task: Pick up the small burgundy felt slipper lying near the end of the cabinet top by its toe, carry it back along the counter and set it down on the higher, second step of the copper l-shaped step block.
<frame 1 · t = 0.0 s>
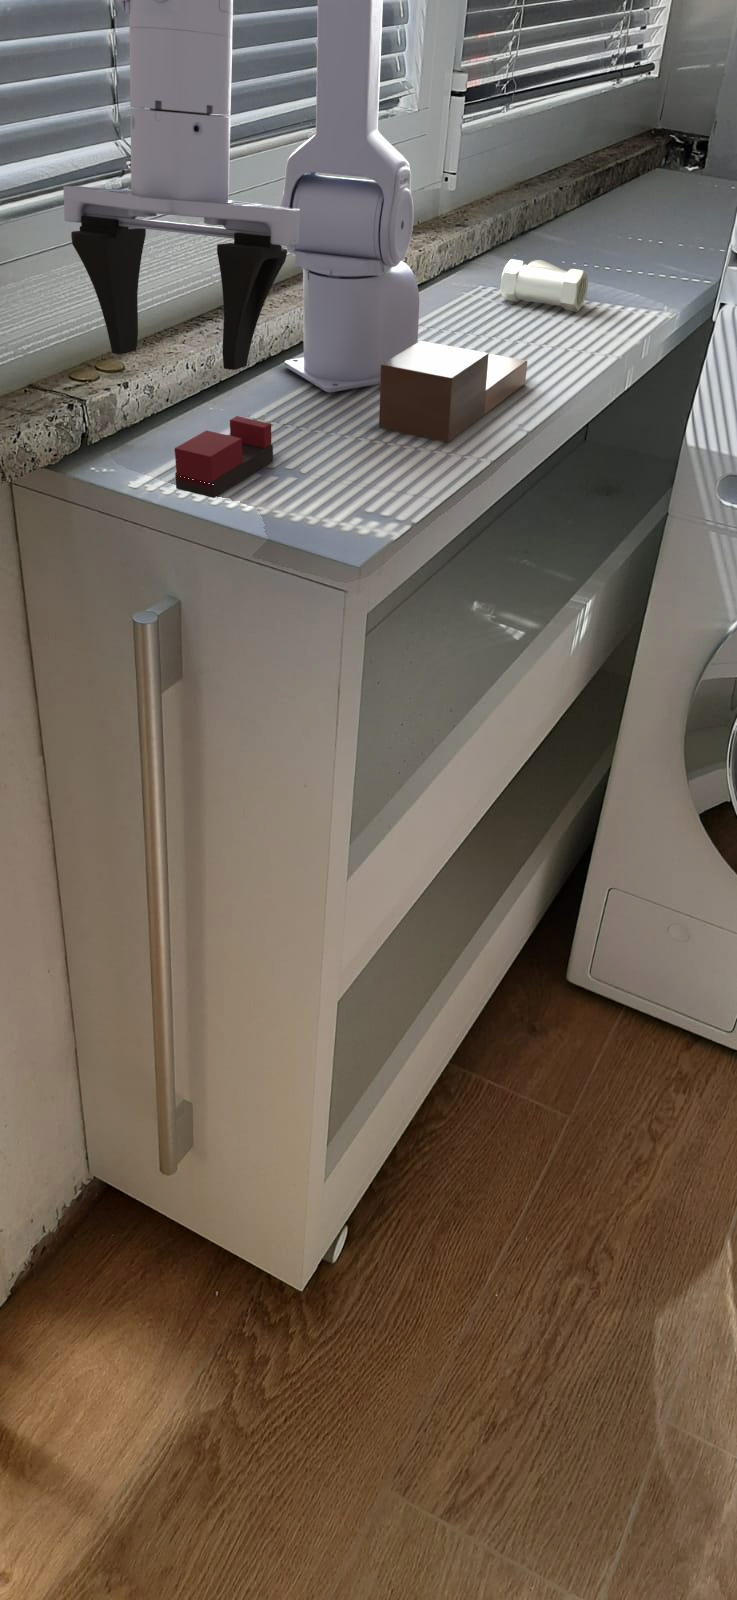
hand: (179, 359, 79), 11 cm above the table, tool pointing down, fingers open, 7 cm apart
pipe fitting: (547, 303, 129), on the table
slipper: (225, 474, 91), on the table
copper l-shaped step block: (484, 384, 108), on the table
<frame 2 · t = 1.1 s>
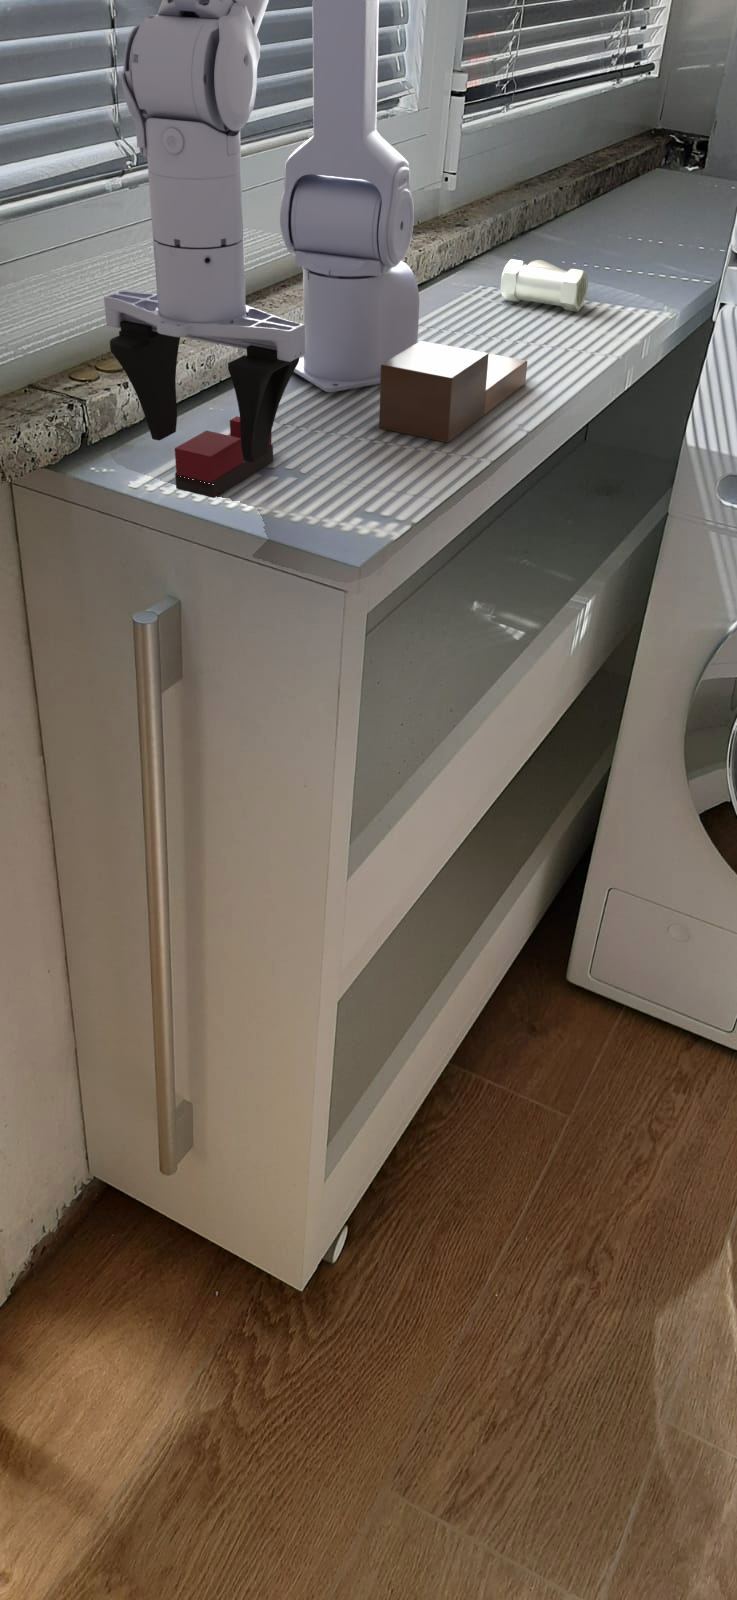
hand: (209, 446, 88), 3 cm above the table, tool pointing down, fingers open, 7 cm apart
nothing on the table moved.
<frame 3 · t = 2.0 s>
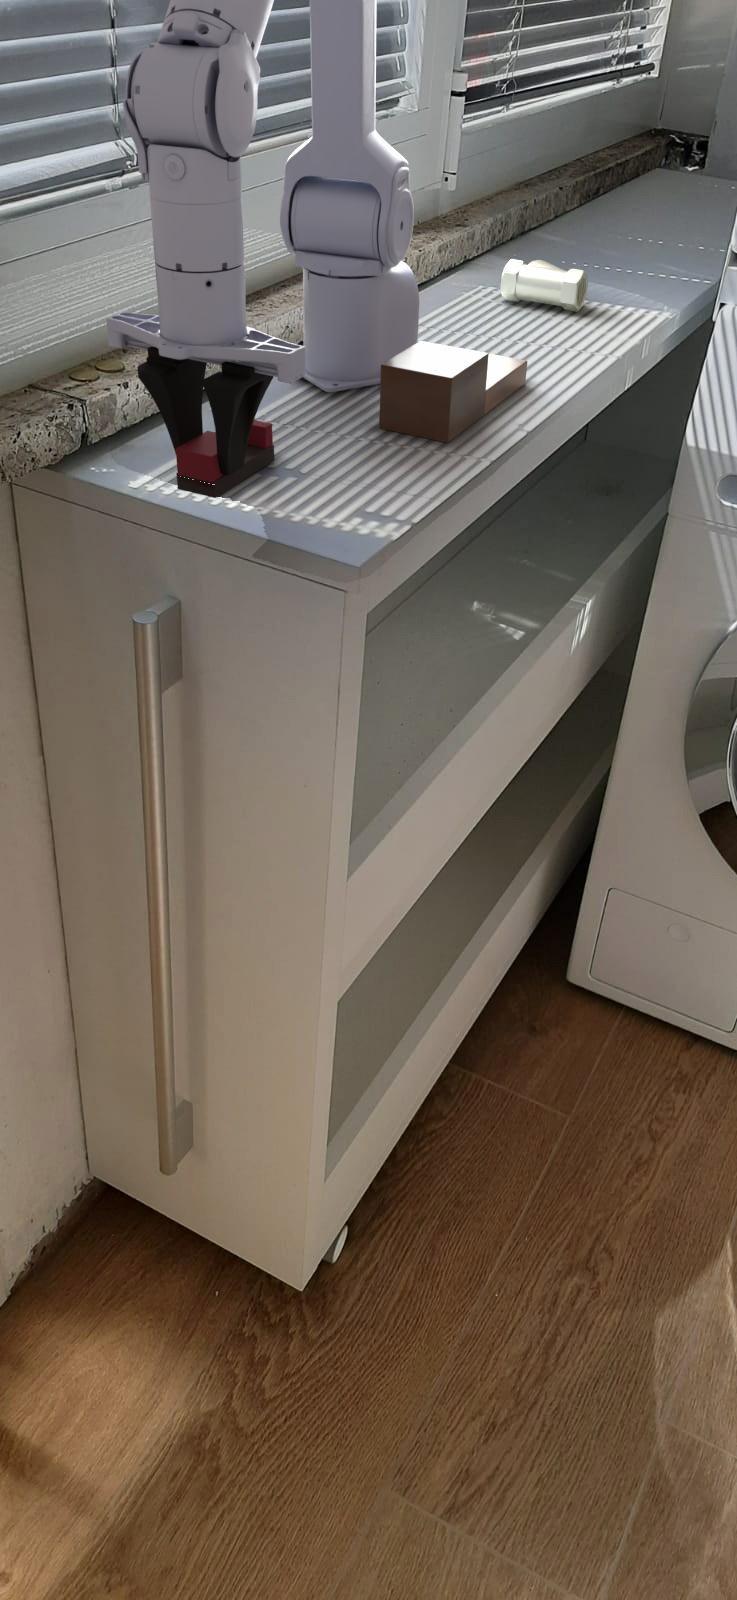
hand: (210, 465, 89), 1 cm above the table, tool pointing down, fingers closed on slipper, 3 cm apart
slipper: (227, 474, 91), on the table, touching gripper
everything else where it was.
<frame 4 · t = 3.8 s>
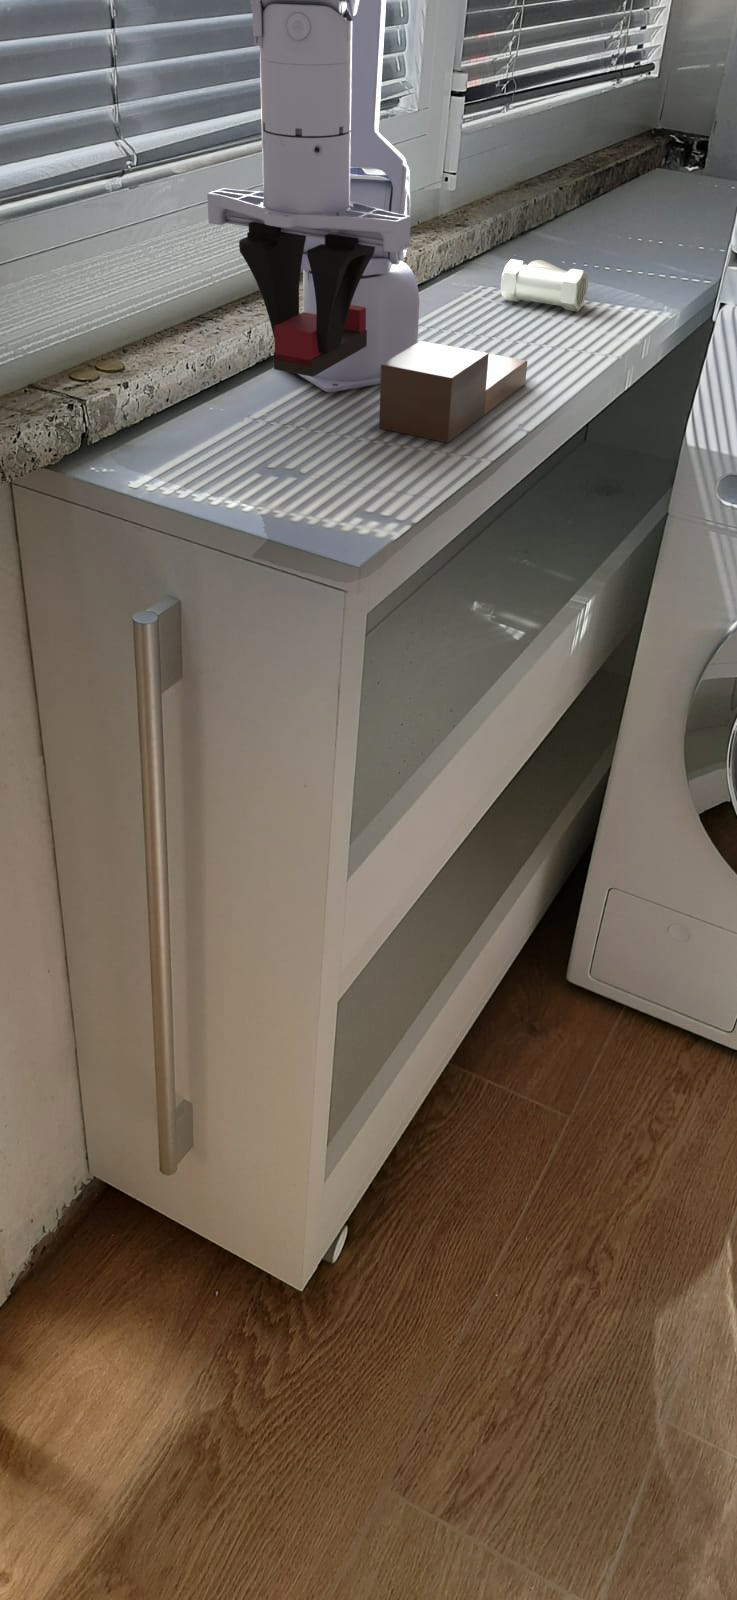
hand: (307, 345, 89), 8 cm above the table, tool pointing down, fingers closed on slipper, 3 cm apart
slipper: (321, 357, 91), point 7 cm above the table, touching gripper
everything else where it was.
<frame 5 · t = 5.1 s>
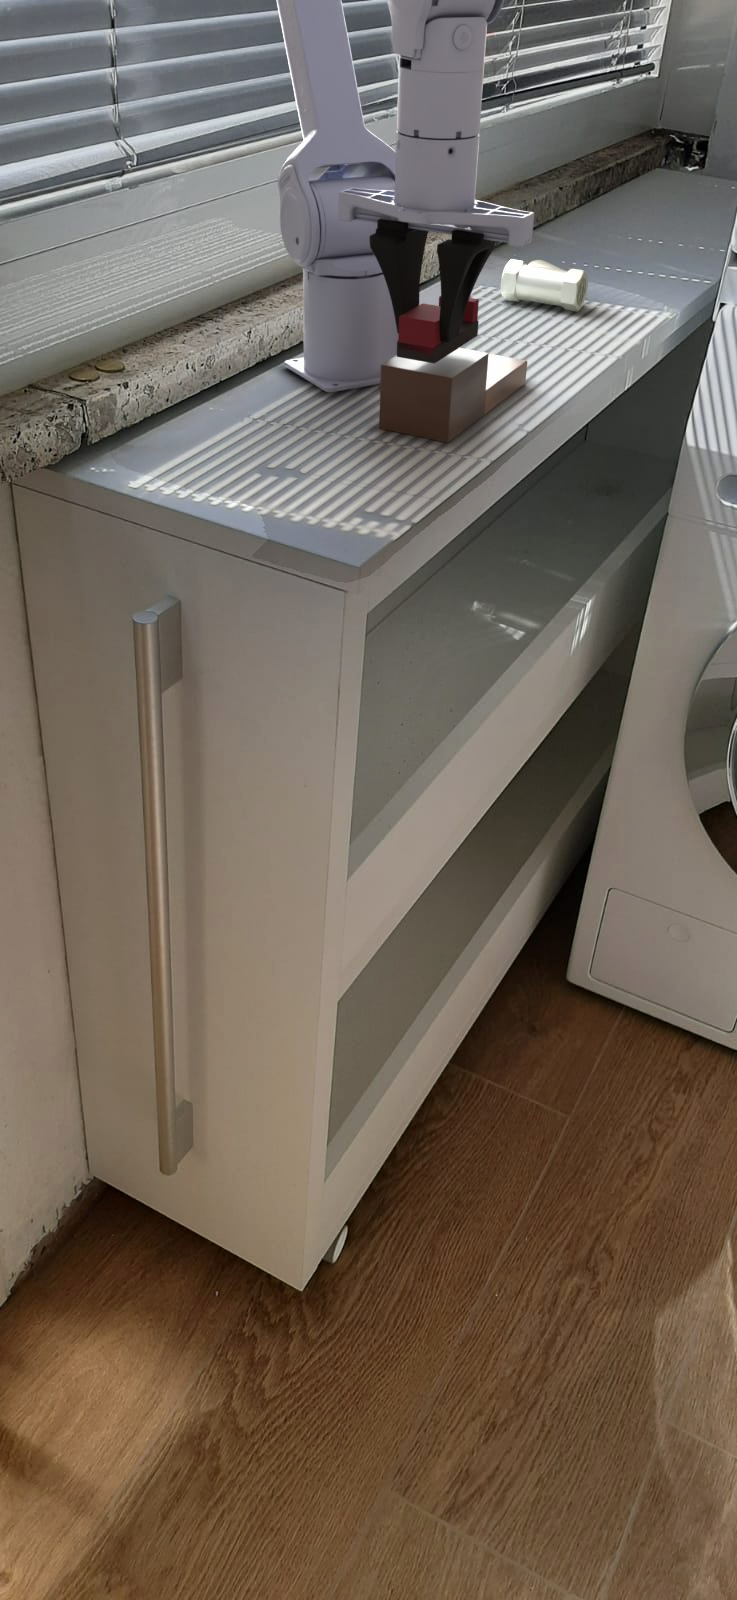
hand: (427, 334, 95), 7 cm above the table, tool pointing down, fingers closed on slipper, 3 cm apart
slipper: (438, 346, 97), point 6 cm above the table, touching gripper
everything else where it was.
when the fingers open (6 cm above the table, at t = 5.7 s): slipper stays where it is, resting on copper l-shaped step block.
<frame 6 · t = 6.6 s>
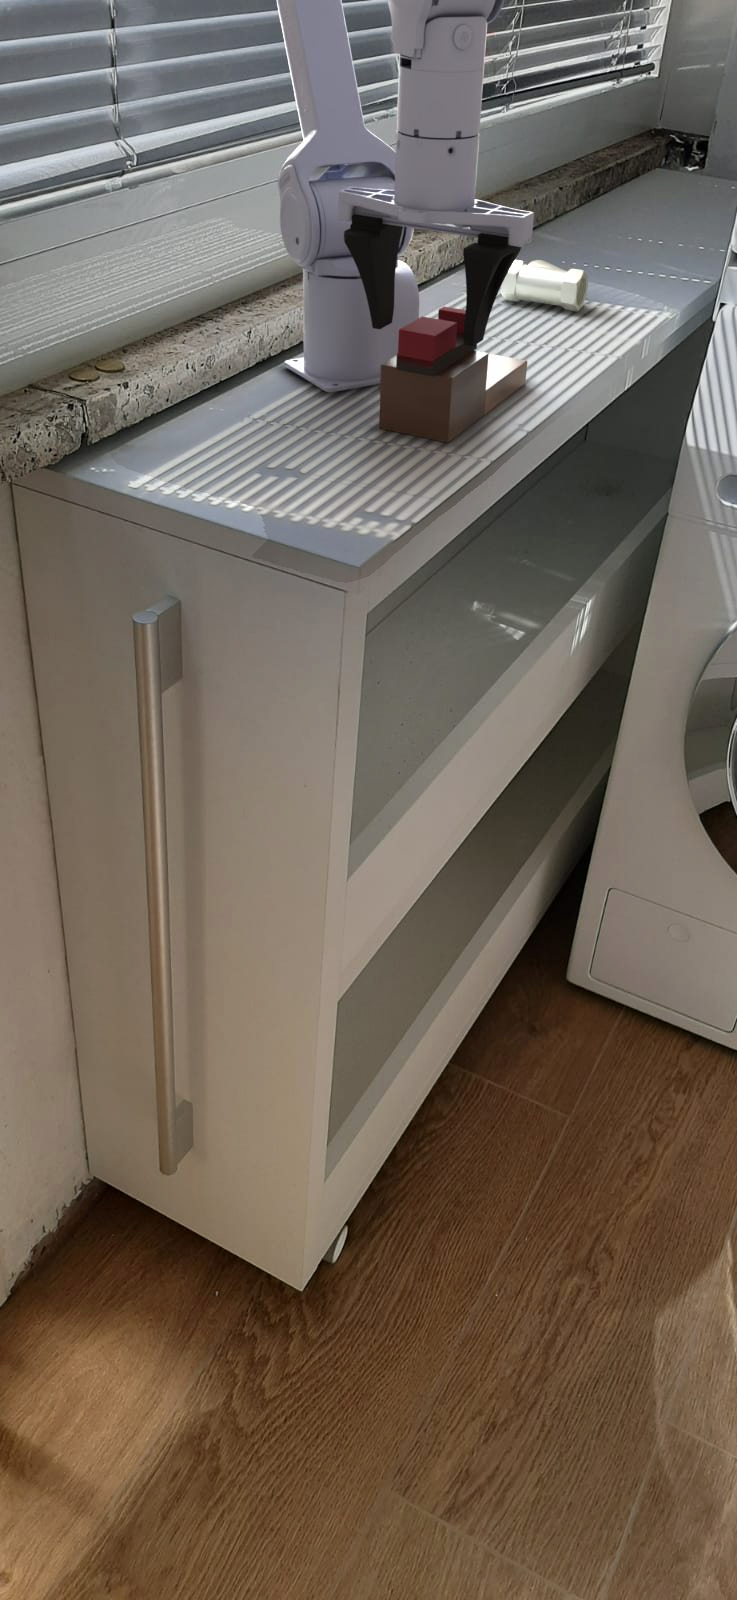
hand: (427, 333, 95), 7 cm above the table, tool pointing down, fingers open, 7 cm apart
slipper: (437, 359, 98), point 5 cm above the table, touching copper l-shaped step block
everything else where it was.
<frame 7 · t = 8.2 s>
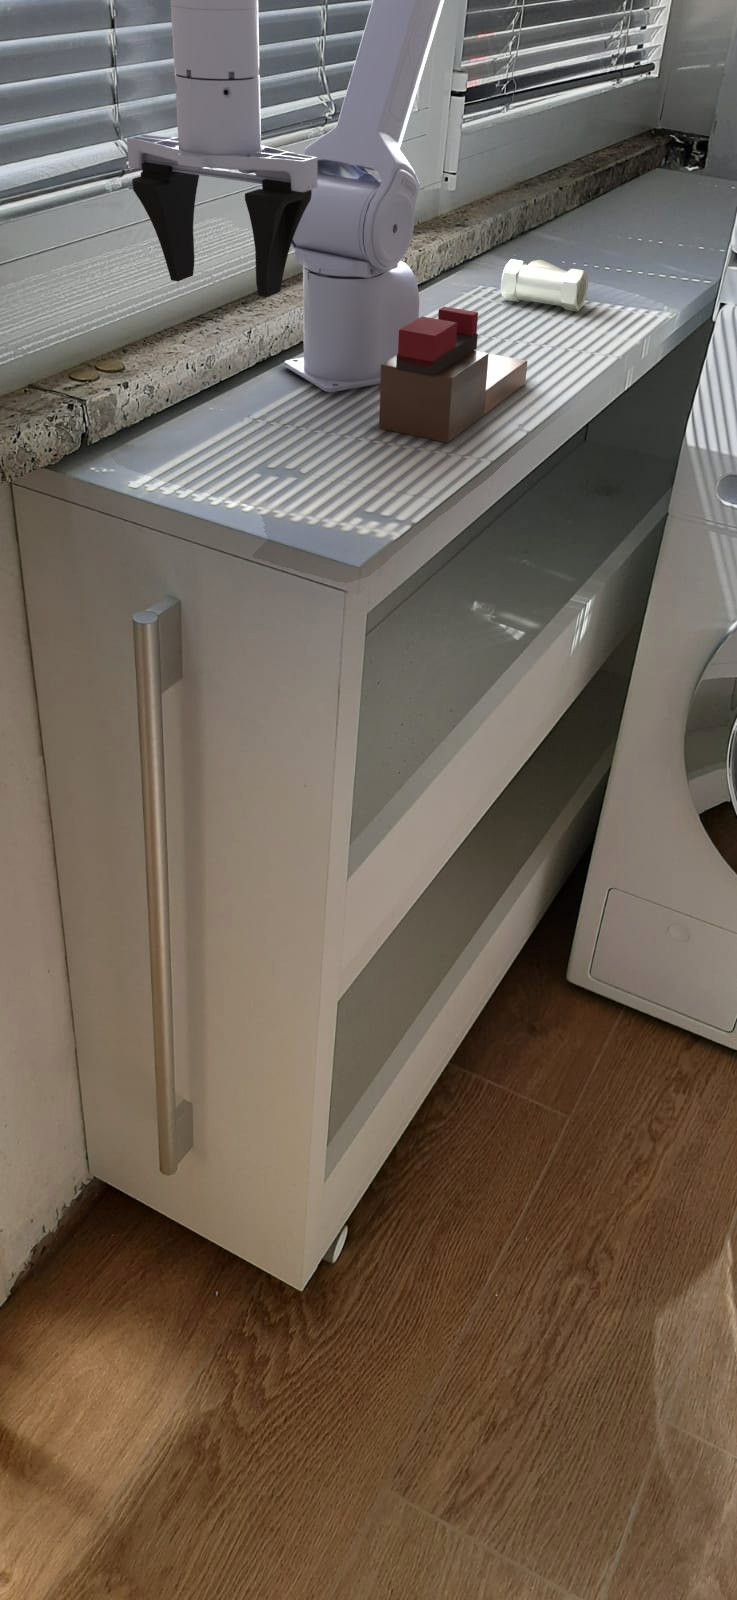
hand: (225, 285, 93), 10 cm above the table, tool pointing down, fingers open, 7 cm apart
nothing on the table moved.
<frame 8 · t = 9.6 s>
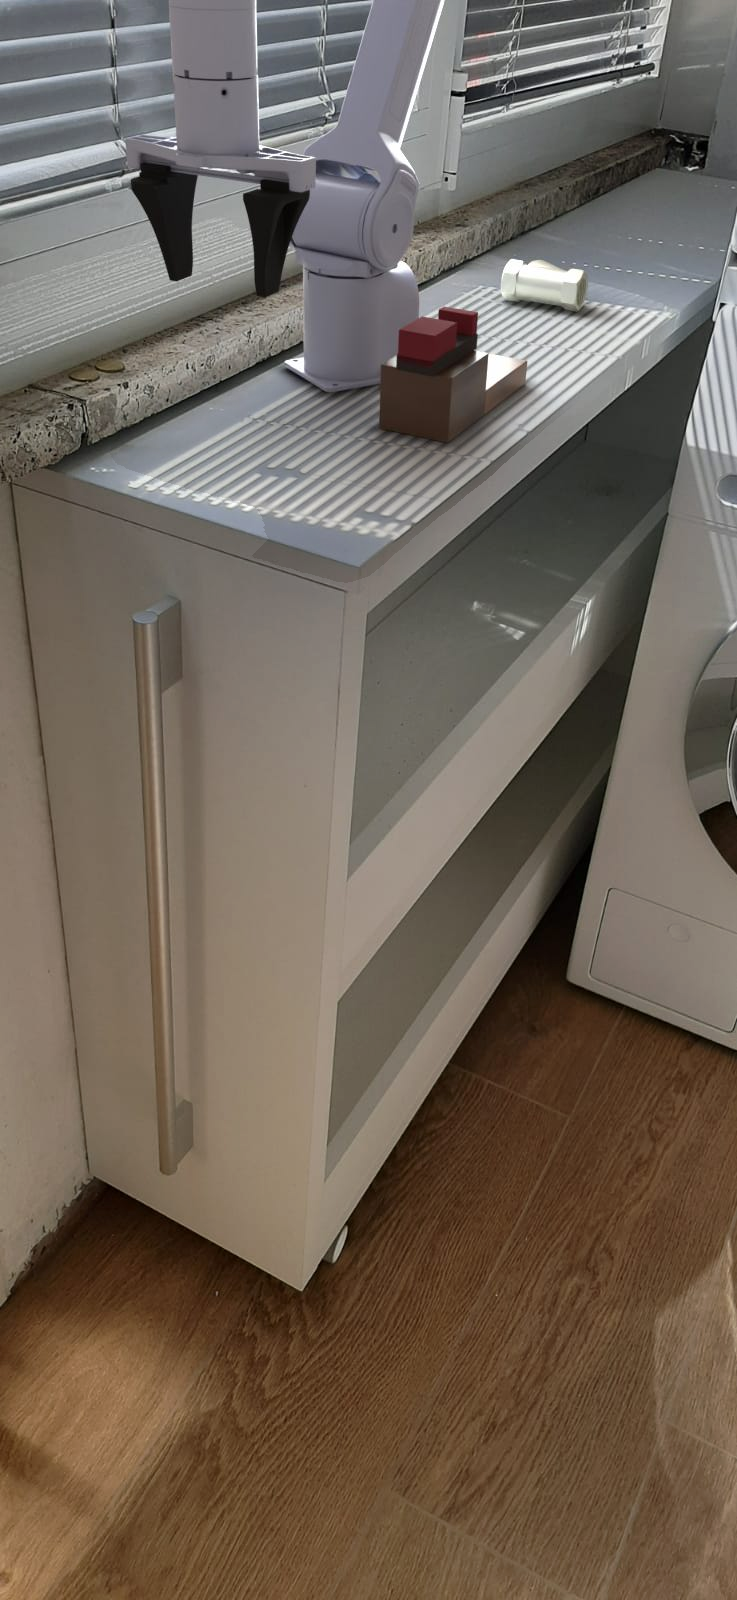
hand: (223, 285, 93), 10 cm above the table, tool pointing down, fingers open, 7 cm apart
nothing on the table moved.
at the end: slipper 0.1 cm from the target spot on the copper l-shaped step block, point 5.0 cm above the copper l-shaped step block's base; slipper tilted 0°; the gripper is holding nothing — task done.
